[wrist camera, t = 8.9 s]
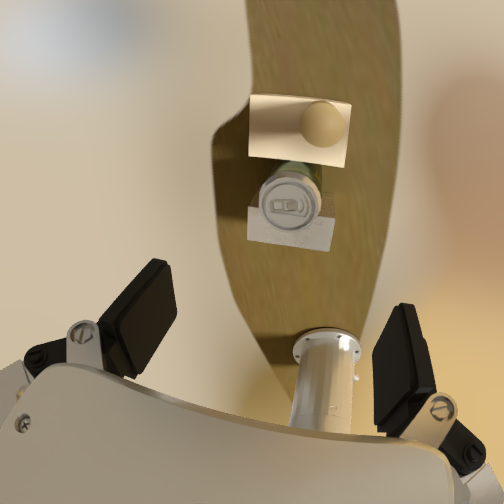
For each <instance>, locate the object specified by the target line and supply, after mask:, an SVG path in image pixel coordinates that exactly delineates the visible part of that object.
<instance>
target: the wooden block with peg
mask: <svg viewBox="0 0 504 504" xmlns="http://www.w3.org/2000/svg"><path fill="white" fill-rule="evenodd" d="M350 113H351V105H350V104H348V103H346V102H341V101H335V100H328V99H320V98H312V97H302V96H292V95H278V94H254V95H250V118H249V156H252V157H263V158H274V159H283V160H292V161H300V162H308V163H315V164H322V165H329V166H336V167H342V168H344V163H345V156H346V148H347V140H348V132H349V123H350Z"/></svg>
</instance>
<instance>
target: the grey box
mask: <svg viewBox="0 0 504 504" xmlns="http://www.w3.org/2000/svg"><path fill="white" fill-rule="evenodd" d="M261 187H262V185H261V186H260V188H259V190H258V191H257V193H256V194H255V196H254V198H253V199H252V201H251V203H250V204H249V206H248V231H247V240H252V241H259V242H266V243H273V244H280V245H286V246H293V247H300V248H306V249H313V250H319V251H326V252H329V249H330V244H331V239H332V234H333V229H334V223H335V206H334V194H329V193H323V192H322V203H321V209H320V212H319V214H318V216H317V218H316V219H315V220H314V222H313V223H312V224H311V225H310V226H309V227H308V228H307V229H305V230H302V231H300V232H296V233H285V232H280V231H278V230H276V229H274V228H272V227H271V226H270V225H269V224H267V223H266V222H265V220H264V219H263V217H262V216H261V213H260V209H259V192H260V190H261Z"/></svg>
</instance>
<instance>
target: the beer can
mask: <svg viewBox="0 0 504 504" xmlns="http://www.w3.org/2000/svg"><path fill="white" fill-rule="evenodd" d="M321 203H322V166H321V164H315V163H308V162H300V161H292V160H283V159H278V160H277V162H276V164H275V165H274V167H273V169H272V170H271V172H270V173H269V175H268V177H267V178H266V180H265V182H264V183H263V185H262V187H261V190H260V192H259V209H260V213H261V216H262V217H263V219H264V220H265V222H266V223H267V224H269V225H270V226H271V227H272V228H274V229H276V230H278V231H280V232H285V233H296V232H300V231H302V230H305V229H307V228H308V227H309V226H310V225H311V224H312V223H313V222H314V220H315V219H316V218H317V216H318V214H319V212H320V209H321Z"/></svg>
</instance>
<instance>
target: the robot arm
mask: <svg viewBox="0 0 504 504" xmlns="http://www.w3.org/2000/svg"><path fill="white" fill-rule="evenodd" d="M176 316H177V307H176V301H175V295H174V288H173V281H172V274H171V268H170V265H168V264H167V262H166V261H164V260H160V259H155V258H153V259H152V260H151V261H150V262H149V263H148V264H147V265H146V266H145V267H144V268H143V269H142V270H141V272H140V273H139V274H138V275H137V276H136V277H135V279H133V281H132V282H131V283H130V284H129V285H128V286H127V287H126V288H125V289H124V291H123V292H122V293H121V294H120V295H119V296H118V298H116V300H115V301H114V302H113V303H112V304H111V305H110V307H109V308H108V309H107V310H106V311H105V312H104V314H103V315H102V316H101V317H100V318H99V321H98V322H97V323H94V322H93V321H89V320H83V321H79V322H77V323H75V324H74V325H72V326H71V327H70V329H69V330H68V332H67V337H66V338H63V339H59V340H55V341H51V342H47V343H44V344H40V345H36V346H34V347H32V348H31V349H29V350H28V352H27V353H26V355H25V357H24V361H21V360H18V361H16V362H14V363H13V364H11V365H9V366H7V367H6V368H4V369H3V370H0V504H503V502H504V492H503V490H502V488H501V486H500V484H499V482H498V480H497V478H496V476H495V474H494V472H493V470H492V468H491V467H490V465H489V463H487V464H485V462H484V461H485V459H486V449H485V446H484V444H482V442H481V441H480V440H479V439H478V438H477V437H476V436H474V434H473V433H471V432H470V431H469V430H468V429H467V428H466V427H465V426H464V425H463V424H462V423H460V422H459V421H458V420H457V419H456V417H457V412H458V409H457V405H456V403H455V401H454V399H453V398H451V396H449V395H447V394H446V393H441V392H439V393H437V390H436V384H435V380H434V374H433V369H432V364H431V359H430V355H429V351H428V346H427V343H426V340H425V339H424V338H423V336H422V331H421V328H420V324H419V320H418V317H417V313H416V309H415V306H414V305H413V304H407V303H400V304H399V306H395V307H394V309H393V311H392V313H391V315H390V317H389V319H388V321H387V324H386V326H385V328H384V330H383V332H382V334H381V336H380V338H379V340H378V341H377V343H376V345H375V347H374V350H373V353H372V364H373V385H374V386H373V387H374V424H375V425H377V432H386V433H387V434H386V437H382V436H366V435H354V434H350V428H351V409H352V385H353V381H357V380H358V379H359V376H358V375H357V374H356V373H354V364H355V363H356V362H357V361H358V360H359V358H360V356H361V345H360V342H359V341H358V339H357V338H356V337H355V336H354V335H352V334H350V333H349V332H346V331H344V330H340V329H334V328H321V329H315V330H312V331H309V332H307V333H305V334H303V335H301V336H300V337H299V338H298V339H297V340H296V342H295V344H294V347H293V356H294V358H295V360H296V361H297V362H298V364H299V370H298V376H297V382H296V388H295V393H294V399H293V404H292V410H291V415H290V421H289V425H288V426H282V425H277V424H271V423H267V422H262V421H257V420H253V419H248V418H244V417H240V416H236V415H231V414H228V413H224V412H220V411H216V410H213V409H209V408H206V407H202V406H199V405H196V404H193V403H189V402H186V401H183V400H180V399H177V398H174V397H171V396H168V395H165V394H163V393H160V392H157V391H155V390H152V389H149V388H147V387H144V386H141V385H139V384H136V383H134V382H131V381H129V380H126V379H124V378H123V377H124V376H127V377H130V378H132V379H135V378H136V376H137V375H138V374H141V373H142V372H143V371H144V369H145V367H146V366H147V364H148V362H149V361H150V359H151V357H152V356H153V354H154V353H155V351H156V349H157V348H158V346H159V344H160V343H161V341H162V339H163V338H164V336H165V334H166V333H167V331H168V330H169V328H170V327H171V325H172V323H173V322H174V320H175V318H176Z"/></svg>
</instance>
